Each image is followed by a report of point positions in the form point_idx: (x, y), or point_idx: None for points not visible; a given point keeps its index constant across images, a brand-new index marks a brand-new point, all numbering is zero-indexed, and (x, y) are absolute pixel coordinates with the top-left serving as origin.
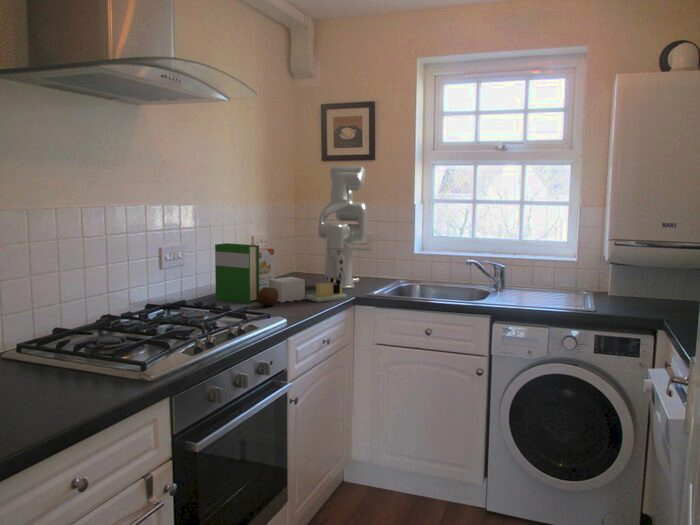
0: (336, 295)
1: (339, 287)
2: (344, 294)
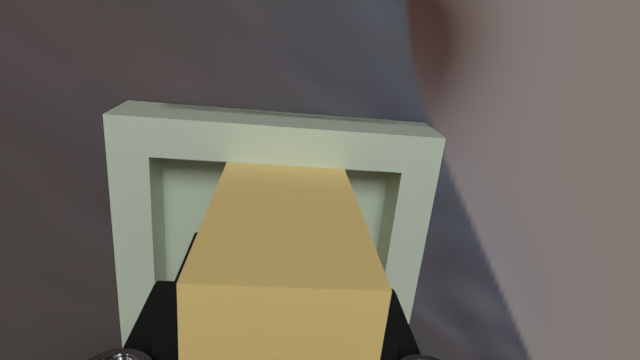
0: None
1: None
2: (403, 160)
